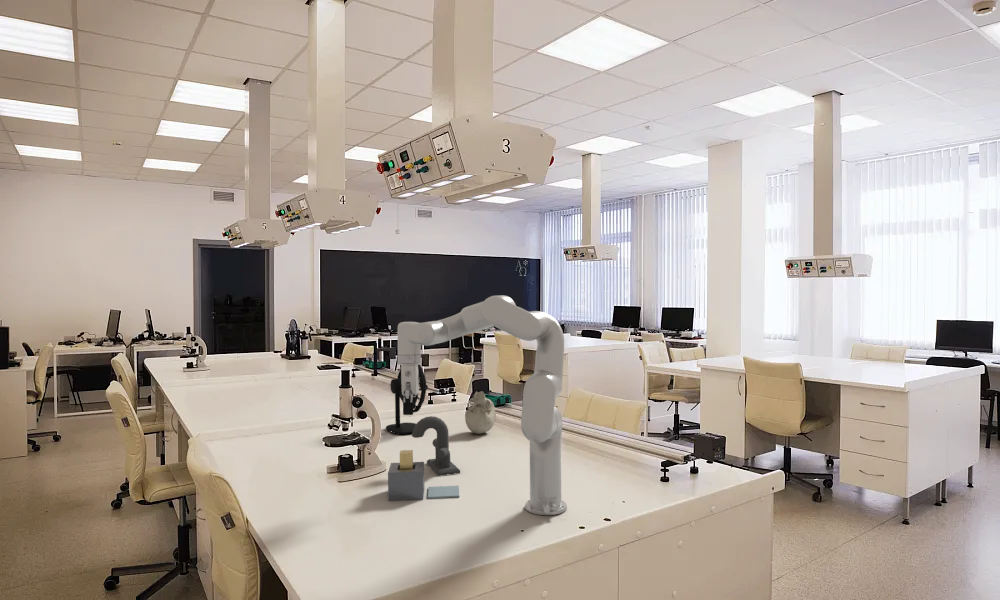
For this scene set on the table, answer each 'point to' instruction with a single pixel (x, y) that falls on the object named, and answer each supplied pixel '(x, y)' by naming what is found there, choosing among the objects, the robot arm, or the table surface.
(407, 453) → the brass peg
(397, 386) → the desk fan
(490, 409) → the skull
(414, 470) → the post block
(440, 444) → the faucet
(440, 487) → the rubber pad
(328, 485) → the table surface
